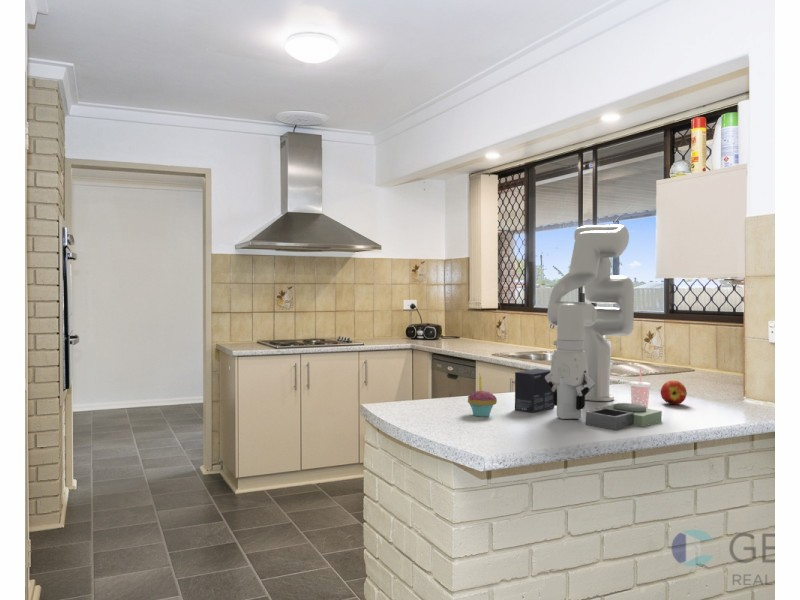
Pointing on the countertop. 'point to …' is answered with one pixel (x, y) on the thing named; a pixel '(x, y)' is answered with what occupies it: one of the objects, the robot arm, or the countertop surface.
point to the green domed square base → (638, 413)
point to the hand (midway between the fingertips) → (568, 406)
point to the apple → (673, 392)
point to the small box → (533, 391)
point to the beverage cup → (640, 392)
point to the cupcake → (481, 401)
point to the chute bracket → (610, 418)
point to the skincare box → (567, 401)
